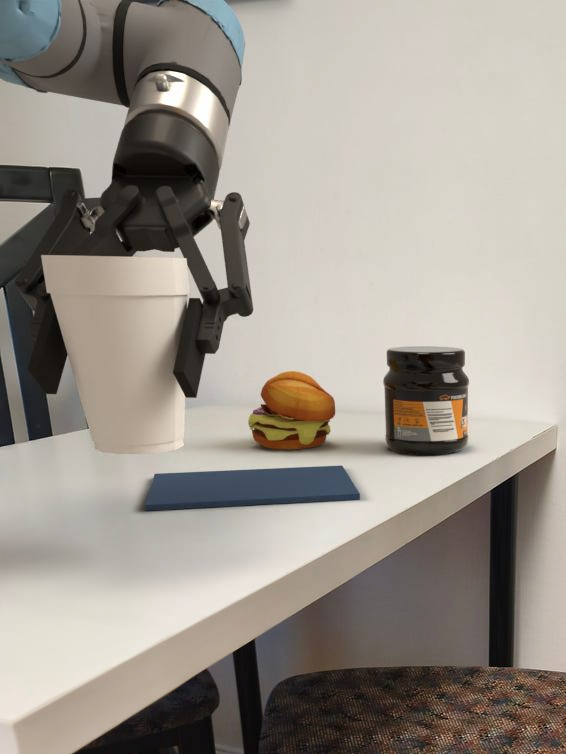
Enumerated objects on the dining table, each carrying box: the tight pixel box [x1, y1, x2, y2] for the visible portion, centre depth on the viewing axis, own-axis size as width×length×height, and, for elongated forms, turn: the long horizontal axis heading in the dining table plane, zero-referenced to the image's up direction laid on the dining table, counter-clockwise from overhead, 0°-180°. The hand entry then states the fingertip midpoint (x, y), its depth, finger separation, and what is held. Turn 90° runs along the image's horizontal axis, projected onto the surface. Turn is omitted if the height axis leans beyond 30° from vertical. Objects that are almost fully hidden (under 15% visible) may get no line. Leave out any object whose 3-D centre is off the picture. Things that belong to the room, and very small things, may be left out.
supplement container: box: [382, 345, 470, 456], centre depth 110 cm, size 10×10×12 cm
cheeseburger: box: [247, 370, 336, 450], centre depth 112 cm, size 10×11×10 cm
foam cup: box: [41, 255, 191, 455], centre depth 64 cm, size 10×9×13 cm
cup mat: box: [144, 464, 361, 512], centre depth 91 cm, size 20×14×1 cm
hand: (113, 383), depth 62 cm, fingers closed on foam cup, 9 cm apart
